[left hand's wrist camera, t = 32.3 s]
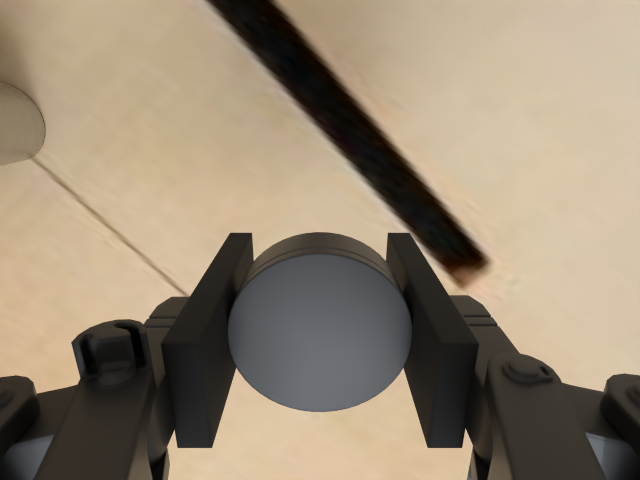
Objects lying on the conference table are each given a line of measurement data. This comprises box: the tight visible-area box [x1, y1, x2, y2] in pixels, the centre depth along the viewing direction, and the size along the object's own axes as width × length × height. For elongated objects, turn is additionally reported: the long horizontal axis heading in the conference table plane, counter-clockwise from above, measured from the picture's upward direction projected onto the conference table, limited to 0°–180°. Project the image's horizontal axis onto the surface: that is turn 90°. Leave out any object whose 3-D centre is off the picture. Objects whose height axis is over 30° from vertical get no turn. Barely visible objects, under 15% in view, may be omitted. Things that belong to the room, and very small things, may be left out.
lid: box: [227, 232, 413, 412], centre depth 11 cm, size 5×5×2 cm
